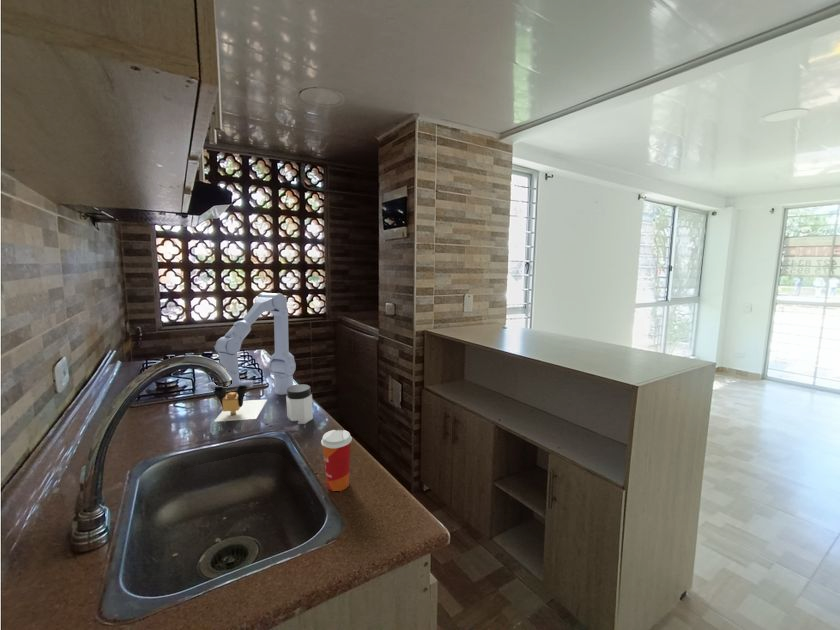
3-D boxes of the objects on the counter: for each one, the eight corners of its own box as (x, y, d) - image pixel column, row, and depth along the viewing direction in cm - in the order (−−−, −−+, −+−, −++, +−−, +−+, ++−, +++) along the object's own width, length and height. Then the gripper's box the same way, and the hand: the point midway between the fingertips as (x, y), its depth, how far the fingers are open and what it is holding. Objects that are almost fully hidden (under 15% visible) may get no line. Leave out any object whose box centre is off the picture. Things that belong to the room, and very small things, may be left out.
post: (231, 413, 137) (230, 404, 137) (237, 413, 138) (236, 404, 137) (229, 415, 135) (228, 406, 135) (235, 415, 136) (234, 406, 135)
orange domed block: (227, 405, 138) (226, 391, 137) (242, 404, 139) (241, 390, 138) (223, 411, 133) (221, 396, 132) (238, 410, 134) (237, 395, 133)
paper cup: (327, 476, 102) (325, 428, 99) (355, 477, 102) (354, 428, 99) (319, 494, 94) (316, 442, 92) (349, 495, 94) (347, 443, 92)
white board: (230, 405, 149) (230, 401, 148) (267, 402, 151) (267, 399, 151) (214, 425, 131) (213, 421, 131) (256, 422, 133) (256, 418, 133)
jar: (285, 425, 131) (283, 392, 129) (289, 415, 139) (288, 384, 137) (311, 424, 133) (309, 391, 131) (314, 414, 141) (313, 383, 139)
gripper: (203, 374, 129) (206, 412, 131) (248, 372, 131) (251, 409, 133) (210, 368, 135) (214, 404, 138) (253, 366, 138) (256, 401, 140)
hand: (232, 406), depth 136 cm, fingers closed on orange domed block, 5 cm apart
